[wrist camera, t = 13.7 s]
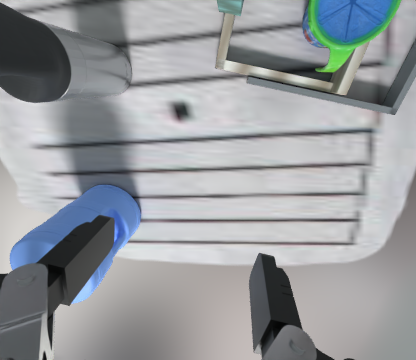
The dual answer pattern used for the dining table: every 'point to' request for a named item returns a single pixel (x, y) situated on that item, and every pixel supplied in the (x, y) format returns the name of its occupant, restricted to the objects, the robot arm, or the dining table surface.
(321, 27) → the snack cup
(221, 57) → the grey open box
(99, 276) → the water jug
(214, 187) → the dining table surface
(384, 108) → the rectangular frame
